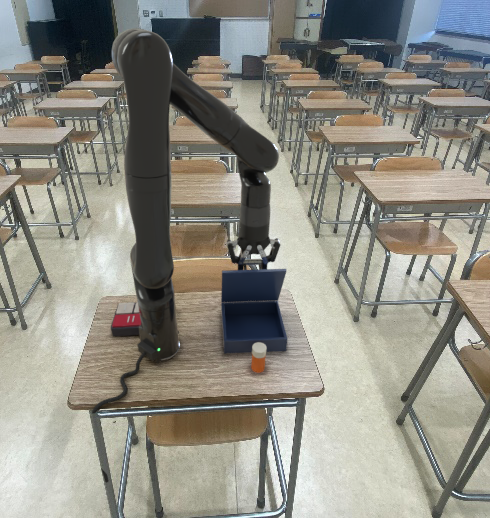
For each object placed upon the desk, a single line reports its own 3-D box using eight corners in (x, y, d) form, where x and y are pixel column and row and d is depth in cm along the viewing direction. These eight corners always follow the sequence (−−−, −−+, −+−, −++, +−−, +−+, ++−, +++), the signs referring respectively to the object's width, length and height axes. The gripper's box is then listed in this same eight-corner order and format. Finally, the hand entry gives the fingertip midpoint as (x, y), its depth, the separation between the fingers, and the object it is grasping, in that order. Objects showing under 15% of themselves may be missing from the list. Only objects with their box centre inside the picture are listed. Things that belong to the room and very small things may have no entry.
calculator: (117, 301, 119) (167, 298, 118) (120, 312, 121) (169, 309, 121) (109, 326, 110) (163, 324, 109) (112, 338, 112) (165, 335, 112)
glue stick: (259, 377, 99) (261, 355, 95) (248, 370, 101) (249, 348, 97) (267, 368, 101) (269, 346, 97) (256, 362, 103) (257, 340, 99)
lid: (286, 271, 102) (283, 253, 105) (222, 273, 101) (221, 255, 104) (278, 300, 115) (275, 284, 118) (221, 302, 115) (220, 286, 118)
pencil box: (285, 353, 106) (287, 339, 103) (223, 355, 105) (223, 341, 102) (276, 314, 119) (277, 300, 116) (221, 316, 118) (221, 302, 115)
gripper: (226, 226, 94) (226, 283, 104) (286, 224, 95) (280, 281, 104) (224, 212, 100) (224, 266, 110) (281, 210, 101) (276, 264, 110)
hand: (252, 273), depth 107 cm, fingers closed on lid, 5 cm apart
